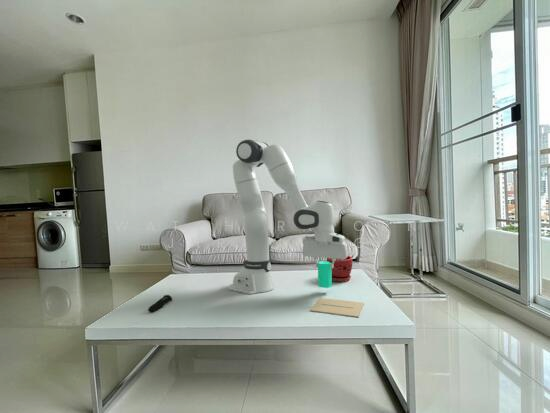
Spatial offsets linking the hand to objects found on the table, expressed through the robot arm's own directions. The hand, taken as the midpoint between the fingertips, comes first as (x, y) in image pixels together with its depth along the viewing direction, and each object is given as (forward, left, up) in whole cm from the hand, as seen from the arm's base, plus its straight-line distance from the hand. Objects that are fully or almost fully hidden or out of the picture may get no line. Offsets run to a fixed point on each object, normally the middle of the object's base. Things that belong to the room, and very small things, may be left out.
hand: (324, 267), depth 127 cm
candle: (0, 0, -9) cm, 8 cm away
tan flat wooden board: (+9, -15, -12) cm, 21 cm away
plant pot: (+2, +23, -12) cm, 26 cm away
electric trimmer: (-62, -37, -12) cm, 73 cm away
